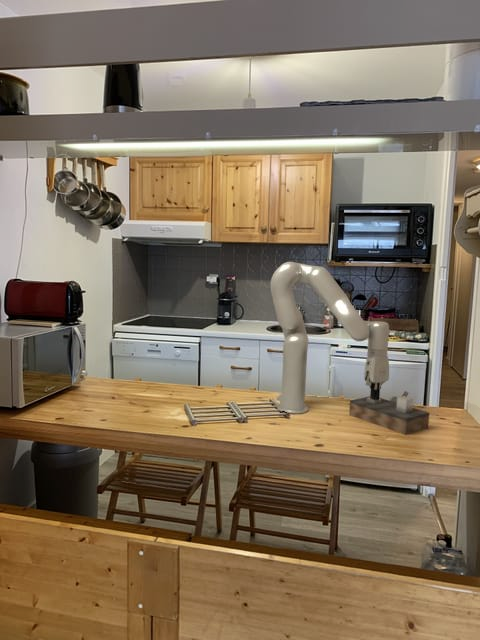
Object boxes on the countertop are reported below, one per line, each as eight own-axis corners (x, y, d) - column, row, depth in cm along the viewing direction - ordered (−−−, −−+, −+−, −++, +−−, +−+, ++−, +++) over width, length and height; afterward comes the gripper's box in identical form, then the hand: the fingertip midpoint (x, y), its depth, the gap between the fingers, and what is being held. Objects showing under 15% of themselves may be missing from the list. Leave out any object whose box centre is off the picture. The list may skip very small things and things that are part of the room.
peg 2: (396, 413, 181) (397, 397, 180) (402, 411, 183) (403, 396, 183) (405, 416, 178) (406, 400, 177) (411, 414, 180) (413, 398, 179)
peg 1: (365, 412, 192) (366, 398, 192) (372, 411, 195) (373, 396, 194) (373, 415, 189) (374, 400, 189) (380, 414, 192) (381, 399, 191)
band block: (349, 415, 193) (350, 400, 192) (371, 409, 201) (372, 395, 200) (405, 434, 172) (406, 418, 171) (428, 428, 180) (429, 412, 180)
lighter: (389, 409, 204) (391, 390, 203) (389, 407, 205) (390, 389, 204) (407, 410, 202) (408, 391, 201) (406, 409, 204) (408, 390, 203)
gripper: (372, 356, 182) (370, 403, 184) (397, 352, 191) (394, 398, 193) (357, 353, 188) (354, 399, 190) (381, 350, 197) (379, 394, 199)
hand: (374, 398), depth 191 cm, fingers closed
